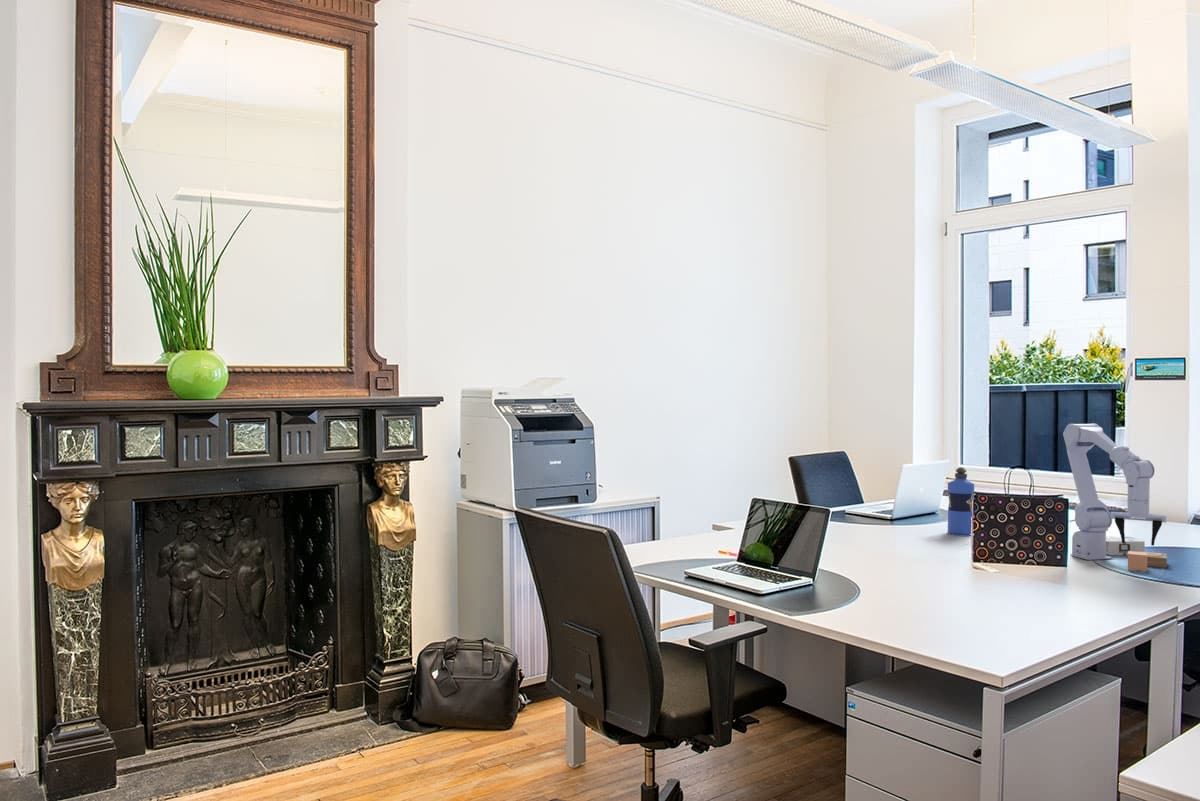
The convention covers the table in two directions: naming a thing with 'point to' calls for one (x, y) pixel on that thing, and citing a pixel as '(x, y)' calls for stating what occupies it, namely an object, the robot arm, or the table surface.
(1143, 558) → the terracotta cube
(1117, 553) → the ink box
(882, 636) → the table surface
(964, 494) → the water bottle
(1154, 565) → the walnut slab
